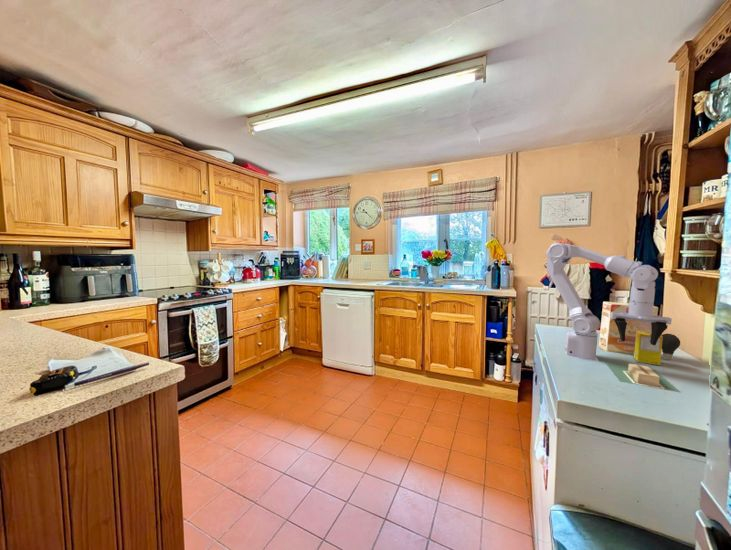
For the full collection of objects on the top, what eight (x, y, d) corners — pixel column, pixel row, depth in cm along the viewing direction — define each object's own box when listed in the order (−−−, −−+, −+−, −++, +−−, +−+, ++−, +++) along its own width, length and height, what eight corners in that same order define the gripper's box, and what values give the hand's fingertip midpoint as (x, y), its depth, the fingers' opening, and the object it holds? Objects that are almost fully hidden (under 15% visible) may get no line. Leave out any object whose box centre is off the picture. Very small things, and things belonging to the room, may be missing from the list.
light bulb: (680, 364, 103) (683, 337, 102) (658, 361, 106) (661, 334, 105) (674, 359, 108) (677, 333, 107) (654, 356, 110) (656, 330, 110)
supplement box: (655, 362, 104) (658, 332, 103) (660, 367, 99) (663, 336, 98) (633, 358, 107) (636, 330, 107) (636, 363, 103) (639, 333, 102)
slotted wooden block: (627, 372, 93) (628, 363, 92) (646, 375, 91) (647, 366, 90) (637, 383, 85) (638, 373, 85) (658, 387, 83) (659, 376, 82)
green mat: (619, 383, 86) (619, 380, 86) (604, 363, 102) (604, 361, 102) (680, 394, 80) (680, 391, 80) (654, 371, 96) (654, 369, 96)
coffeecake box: (606, 352, 114) (611, 303, 112) (597, 347, 120) (602, 301, 119) (653, 357, 109) (659, 306, 108) (642, 351, 116) (647, 303, 115)
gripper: (616, 301, 95) (612, 341, 96) (677, 306, 88) (673, 349, 89) (610, 298, 101) (607, 336, 102) (667, 303, 94) (663, 343, 95)
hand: (637, 342), depth 96 cm, fingers open, 7 cm apart
